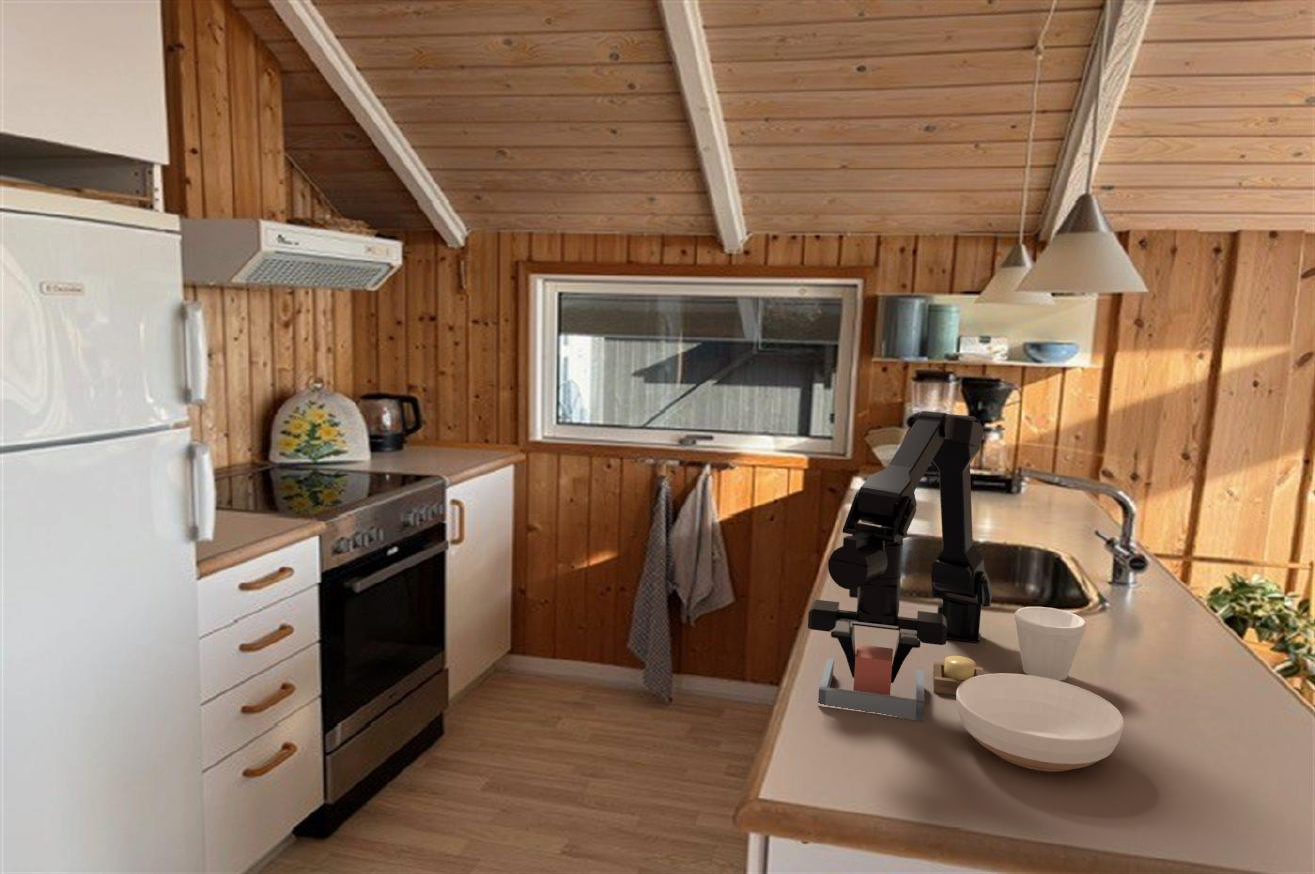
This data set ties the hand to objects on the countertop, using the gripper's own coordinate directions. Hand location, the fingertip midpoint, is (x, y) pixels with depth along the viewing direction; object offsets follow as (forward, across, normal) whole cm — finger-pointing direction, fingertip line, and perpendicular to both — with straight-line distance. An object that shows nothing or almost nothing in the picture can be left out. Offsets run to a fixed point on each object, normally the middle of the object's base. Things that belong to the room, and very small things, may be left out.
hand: (873, 679), depth 131 cm
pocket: (+2, 0, 0) cm, 2 cm away
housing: (+2, -12, -8) cm, 15 cm away
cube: (+1, 0, 0) cm, 1 cm away
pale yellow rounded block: (+2, -12, -8) cm, 14 cm away
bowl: (+3, -20, +10) cm, 23 cm away
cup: (+3, -25, -17) cm, 30 cm away
